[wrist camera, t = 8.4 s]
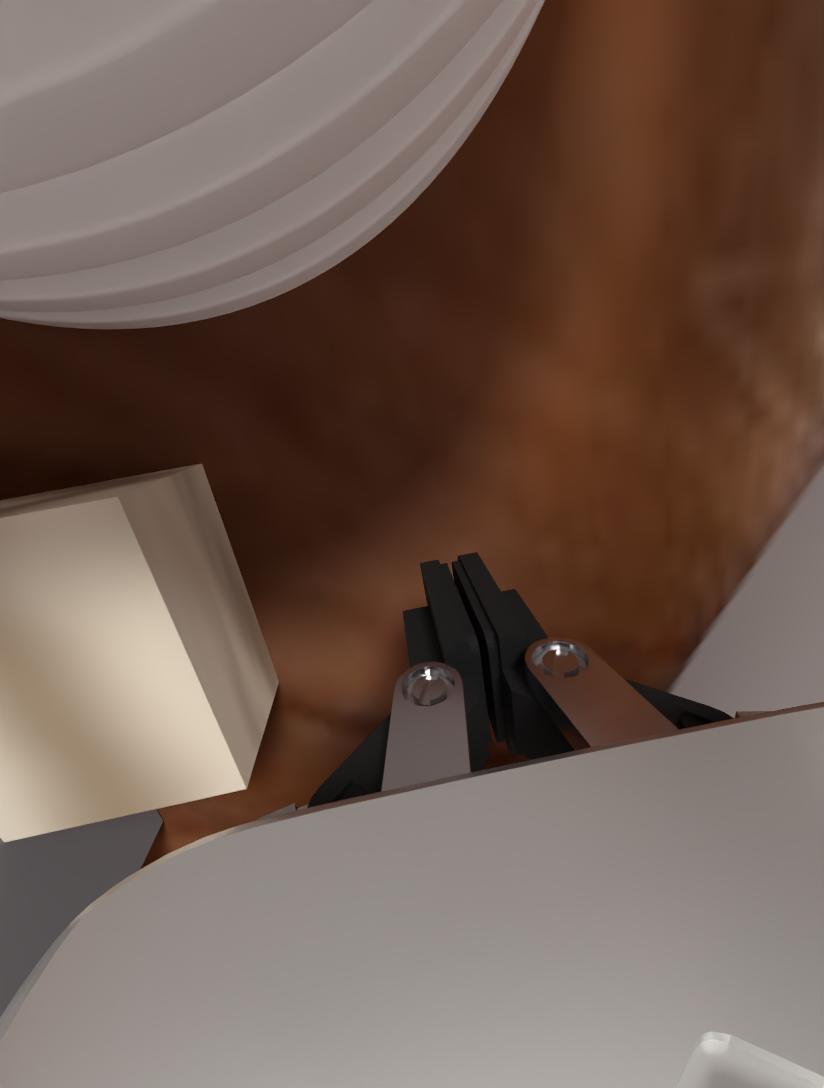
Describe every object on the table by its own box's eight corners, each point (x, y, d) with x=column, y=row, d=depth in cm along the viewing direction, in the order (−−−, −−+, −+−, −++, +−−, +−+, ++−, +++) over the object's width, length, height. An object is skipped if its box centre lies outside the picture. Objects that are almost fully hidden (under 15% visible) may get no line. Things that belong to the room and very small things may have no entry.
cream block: (204, 462, 13) (117, 496, 9) (280, 678, 17) (246, 788, 12) (-12, 501, 13) (-224, 559, 8) (108, 714, 16) (4, 842, 12)
